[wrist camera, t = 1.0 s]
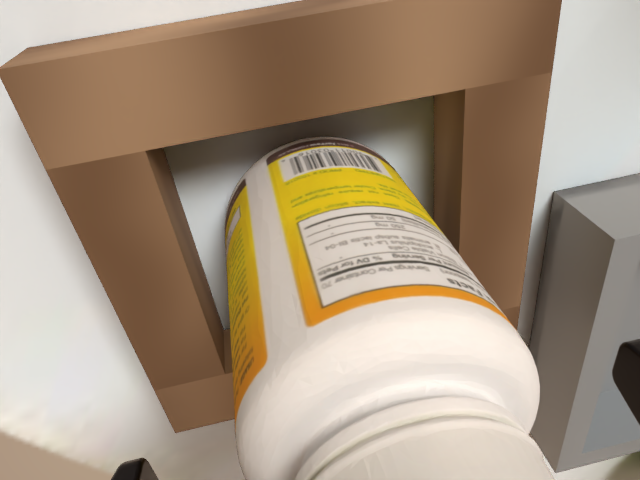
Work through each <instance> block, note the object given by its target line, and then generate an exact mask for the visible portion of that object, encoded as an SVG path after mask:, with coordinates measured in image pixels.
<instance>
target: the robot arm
mask: <svg viewBox="0 0 640 480" xmlns="http://www.w3.org/2000/svg"><path fill="white" fill-rule="evenodd" d="M612 377H613V380H614V383H615V385H616V386H617V388H618V390H619V391H620V393H621V395H622V397H623V398H624V400H625V402H626V403H627V405H628V407H629V408H630V410H631V412H632V414H633V415H634V417H635V419H636V420H637V422H638V424H639V425H640V339H636V340H632V341H628V342H624V343H622V344H621V345H620V347H619V349H618V352H617V355H616V359H615V362H614V365H613V369H612ZM111 480H158V478H157V476H156V474H155V473H154V471H153V469H152V467H151V466H150V464H149V462H148V461H147V460H146V459H144V458H140V459H135V460H131V461H127V462H124V463H122V464H121V465H120V466H119V467H118V469H117V470H116V472H115V474H114V475H113V477H112V479H111Z"/></svg>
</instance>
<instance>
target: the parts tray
mask: <svg viewBox="0 0 640 480" xmlns="http://www.w3.org/2000/svg"><path fill="white" fill-rule="evenodd" d="M636 339H640V173H638V174H634V175H629V176H624V177H620V178H615V179H610V180H606V181H601V182H596V183H592V184H587V185H582V186H578V187H573V188H568V189H563V190H559V191H554V196H553V202H552V209H551V215H550V221H549V227H548V234H547V240H546V246H545V252H544V259H543V265H542V271H541V277H540V284H539V290H538V296H537V302H536V309H535V315H534V321H533V327H532V334H531V340H530V346H529V351H530V352H531V354H532V357H533V359H534V362H535V365H536V368H537V371H538V376H539V383H540V399H539V406H538V411H537V415H536V419H535V421H534V424H533V426H532V428H531V431H530V433H531V435H532V436H533V438H534V440H535V441H536V443H537V444H538V446H539V448H540V449H541V451H542V452H543V454H544V456H545V457H546V459H547V460H548V462H549V464H550V465H551V467H552V469H553V470H554V472H555V473H558V472H562V471H566V470H569V469H573V468H577V467H581V466H585V465H589V464H592V463H596V462H600V461H604V460H608V459H611V458H615V457H619V456H623V455H627V454H630V453H634V452H638V451H640V425H639V424H638V422H637V420H636V419H635V417H634V415H633V414H632V412H631V410H630V408H629V407H628V405H627V403H626V402H625V400H624V398H623V397H622V395H621V393H620V391H619V390H618V388H617V386H616V385H615V383H614V380H613V377H612V369H613V365H614V362H615V359H616V355H617V352H618V349H619V347H620V345H621V344H622V343H624V342H628V341H632V340H636Z"/></svg>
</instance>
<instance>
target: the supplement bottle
mask: <svg viewBox="0 0 640 480" xmlns="http://www.w3.org/2000/svg"><path fill="white" fill-rule="evenodd" d="M225 247H226V264H227V281H228V302H229V318H230V335H231V353H232V371H233V394H234V414H235V435H236V443H237V452H238V458H239V462H240V465H241V468H242V471H243V474H244V477H245V479H246V480H555V479H554V478H553V476H552V474H551V472H550V471H549V469H548V467H547V465H546V464H545V462H544V459H543V455H542V452H541V450H540V448H539V447H538V445H537V444H536V442H535V441H534V440H533V439H532V438H531V437H530V436H528V435H529V433H530V431H531V428H532V426H533V424H534V421H535V419H536V415H537V411H538V406H539V399H540V383H539V376H538V371H537V368H536V365H535V362H534V359H533V357H532V354H531V352H530V351H529V349H528V347H527V346H526V344H525V343H524V341H523V340H522V338H521V336H520V335H519V333H518V332H517V330H516V329H515V328H514V326H513V325H512V324H511V323H510V321H509V320H508V319H507V317H506V316H505V315H504V313H503V312H502V311H501V309H500V308H499V307H498V306H497V304H496V303H495V302H494V300H493V299H492V298H491V296H490V295H489V294H488V292H487V291H486V290H485V288H484V287H483V286H482V284H481V283H480V282H479V280H478V279H477V278H476V276H475V275H474V274H473V272H472V271H471V270H470V268H469V267H468V266H467V264H466V263H465V262H464V260H463V259H462V258H461V256H460V255H459V254H458V252H457V251H456V250H455V248H454V247H453V246H452V244H451V243H450V241H449V240H448V239H447V238H446V236H445V235H444V234H443V232H442V231H441V230H440V229H439V227H438V226H437V225H436V224H435V222H434V221H433V219H432V218H431V217H430V216H429V214H428V213H427V212H426V210H425V209H424V208H423V206H422V205H421V204H420V202H419V201H418V200H417V198H416V197H415V196H414V194H413V193H412V192H411V191H410V189H409V188H408V187H407V185H406V184H405V183H404V181H403V180H402V178H401V177H400V176H399V174H398V173H397V172H396V170H395V169H394V168H393V167H392V166H391V165H390V164H389V163H388V162H387V161H386V160H385V159H384V158H383V157H382V156H381V155H379V154H378V153H376V152H375V151H374V150H372V149H370V148H368V147H367V146H365V145H362V144H360V143H357V142H355V141H352V140H348V139H344V138H338V137H311V138H304V139H300V140H296V141H293V142H290V143H287V144H285V145H282V146H280V147H278V148H276V149H274V150H272V151H271V152H269V153H267V154H266V155H265V156H263V157H262V158H261V159H259V160H258V161H257V162H256V163H255V164H254V165H252V166H251V167H250V168H249V170H248V171H247V172H246V173H245V174H244V175H243V177H242V178H241V179H240V181H239V183H238V184H237V186H236V188H235V190H234V192H233V194H232V196H231V198H230V201H229V204H228V208H227V213H226V220H225Z"/></svg>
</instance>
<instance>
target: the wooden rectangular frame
mask: <svg viewBox="0 0 640 480" xmlns="http://www.w3.org/2000/svg"><path fill="white" fill-rule="evenodd" d="M561 2H562V0H302V1H296V2H291V3H285V4H279V5H273V6H267V7H262V8H256V9H250V10H244V11H238V12H233V13H227V14H221V15H215V16H209V17H204V18H198V19H192V20H186V21H181V22H175V23H169V24H163V25H157V26H152V27H146V28H140V29H134V30H128V31H123V32H117V33H111V34H105V35H100V36H94V37H88V38H82V39H76V40H71V41H65V42H59V43H53V44H47V45H42V46H36V47H30V48H27V49H25V50H24V51H23V52H21V53H20V54H18V55H17V56H15V57H14V58H13V59H11V60H10V61H8V62H7V63H5V64H4V65H3V66H1V67H0V78H1V80H2V82H3V84H4V86H5V88H6V90H7V92H8V94H9V96H10V98H11V100H12V102H13V104H14V106H15V108H16V110H17V112H18V114H19V117H20V119H21V121H22V123H23V125H24V127H25V129H26V131H27V133H28V135H29V137H30V139H31V141H32V143H33V145H34V147H35V149H36V151H37V153H38V155H39V157H40V159H41V161H42V163H43V165H44V167H45V169H46V171H47V173H48V175H49V177H50V179H51V181H52V184H53V186H54V188H55V190H56V192H57V194H58V196H59V198H60V200H61V202H62V204H63V206H64V208H65V210H66V212H67V214H68V216H69V218H70V220H71V222H72V224H73V226H74V228H75V230H76V232H77V234H78V236H79V238H80V240H81V242H82V244H83V246H84V248H85V251H86V253H87V255H88V257H89V259H90V261H91V263H92V265H93V267H94V269H95V271H96V273H97V275H98V277H99V279H100V281H101V283H102V285H103V287H104V289H105V291H106V293H107V295H108V297H109V299H110V301H111V303H112V305H113V307H114V309H115V311H116V313H117V315H118V318H119V320H120V322H121V324H122V326H123V328H124V330H125V332H126V334H127V336H128V338H129V340H130V342H131V344H132V346H133V348H134V350H135V352H136V354H137V356H138V358H139V360H140V362H141V364H142V366H143V368H144V370H145V372H146V374H147V376H148V378H149V380H150V382H151V385H152V387H153V389H154V391H155V393H156V395H157V397H158V399H159V401H160V403H161V405H162V407H163V409H164V411H165V413H166V415H167V417H168V419H169V421H170V423H171V425H172V427H173V429H174V431H175V433H178V432H182V431H186V430H190V429H194V428H198V427H203V426H207V425H211V424H215V423H219V422H223V421H228V420H232V419H235V414H234V394H233V371H232V353H231V335H230V329H227V330H223V327H222V324H221V321H220V318H219V315H218V312H217V309H216V306H215V303H214V300H213V297H212V294H211V291H210V288H209V285H208V282H207V279H206V276H205V273H204V270H203V267H202V264H201V261H200V258H199V255H198V252H197V249H196V246H195V243H194V240H193V237H192V234H191V231H190V228H189V225H188V222H187V219H186V216H185V213H184V210H183V207H182V204H181V201H180V198H179V195H178V192H177V189H176V186H175V183H174V180H173V177H172V174H171V171H170V168H169V165H168V162H167V159H166V156H165V153H164V150H163V147H167V146H173V145H178V144H183V143H188V142H193V141H199V140H204V139H209V138H214V137H219V136H225V135H230V134H235V133H240V132H245V131H251V130H256V129H261V128H266V127H271V126H276V125H282V124H287V123H292V122H297V121H302V120H308V119H313V118H318V117H323V116H328V115H334V114H339V113H344V112H349V111H354V110H359V109H365V108H370V107H375V106H380V105H385V104H391V103H396V102H401V101H406V100H411V99H417V98H422V97H427V96H432V95H434V222H435V224H436V225H437V226H438V227H439V229H440V230H441V231H442V232H443V234H444V235H445V236H446V238H447V239H448V240H449V241H450V243H451V244H452V246H453V247H454V248H455V250H456V251H457V252H458V254H459V255H460V256H461V258H462V259H463V260H464V262H465V263H466V264H467V266H468V267H469V268H470V270H471V271H472V272H473V274H474V275H475V276H476V278H477V279H478V280H479V282H480V283H481V284H482V286H483V287H484V288H485V290H486V291H487V292H488V294H489V295H490V296H491V298H492V299H493V300H494V302H495V303H496V304H497V306H498V307H499V308H500V309H501V311H502V312H503V313H504V315H505V316H506V317H507V319H508V320H509V321H510V323H511V324H512V325H513V326H514V328H515V329H516V330H517V326H518V319H519V312H520V304H521V297H522V289H523V282H524V275H525V267H526V260H527V253H528V245H529V238H530V231H531V223H532V216H533V208H534V201H535V194H536V186H537V179H538V172H539V164H540V157H541V150H542V142H543V135H544V128H545V120H546V113H547V105H548V98H549V91H550V83H551V76H552V69H553V61H554V54H555V47H556V39H557V32H558V24H559V17H560V10H561Z"/></svg>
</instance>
